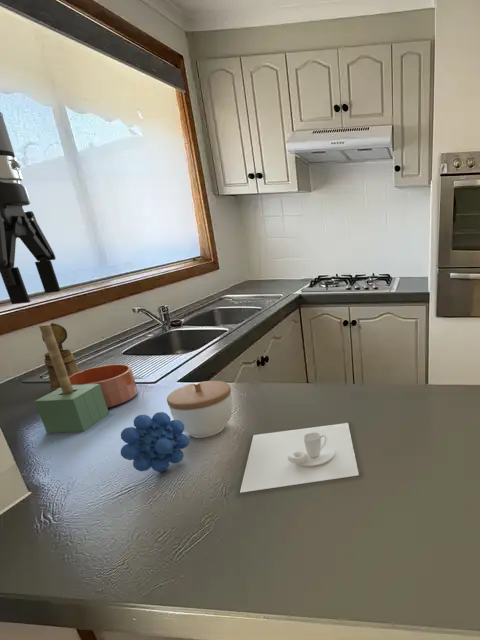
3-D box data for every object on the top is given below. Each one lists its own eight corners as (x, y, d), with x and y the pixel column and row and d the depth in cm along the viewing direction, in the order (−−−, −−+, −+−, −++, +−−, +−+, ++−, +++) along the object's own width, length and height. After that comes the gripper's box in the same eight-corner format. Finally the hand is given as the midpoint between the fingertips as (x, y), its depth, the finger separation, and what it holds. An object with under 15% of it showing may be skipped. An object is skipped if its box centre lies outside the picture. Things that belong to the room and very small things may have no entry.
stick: (72, 425, 99) (36, 326, 91) (78, 421, 101) (43, 323, 93) (80, 424, 99) (45, 325, 91) (86, 420, 101) (52, 323, 93)
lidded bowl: (237, 412, 100) (228, 368, 96) (238, 436, 88) (228, 388, 84) (179, 423, 96) (168, 378, 92) (173, 450, 85) (160, 400, 81)
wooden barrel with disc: (88, 376, 132) (70, 320, 126) (87, 389, 121) (67, 328, 115) (54, 383, 128) (33, 325, 122) (50, 397, 117) (27, 334, 111)
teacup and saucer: (288, 471, 75) (284, 451, 74) (289, 448, 82) (286, 430, 81) (337, 464, 76) (334, 444, 75) (334, 442, 83) (332, 424, 82)
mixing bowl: (57, 414, 106) (46, 387, 103) (97, 390, 120) (89, 365, 117) (115, 412, 105) (107, 384, 102) (149, 387, 119) (142, 362, 116)
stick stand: (46, 433, 96) (34, 401, 93) (74, 415, 105) (64, 385, 102) (84, 431, 96) (72, 399, 93) (109, 413, 104) (99, 383, 101)
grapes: (143, 495, 71) (123, 432, 67) (125, 482, 75) (105, 422, 71) (205, 462, 80) (191, 405, 75) (186, 452, 84) (172, 397, 79)
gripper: (-18, 175, 68) (29, 306, 75) (51, 186, 90) (82, 286, 98) (-74, 178, 66) (-20, 311, 74) (11, 188, 89) (45, 289, 96)
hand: (38, 297), depth 86 cm, fingers open, 13 cm apart
